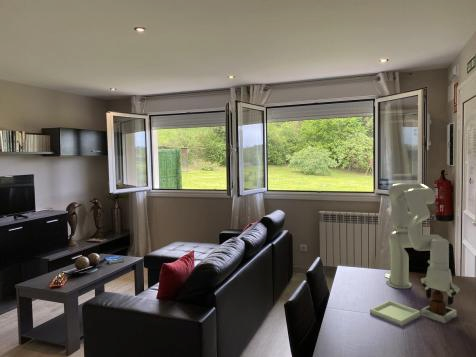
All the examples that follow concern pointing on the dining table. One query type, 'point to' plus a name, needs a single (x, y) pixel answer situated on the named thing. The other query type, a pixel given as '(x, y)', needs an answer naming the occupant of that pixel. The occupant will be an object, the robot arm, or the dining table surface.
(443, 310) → the brown lumpy elongated piece
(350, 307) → the dining table surface
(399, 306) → the sage tray
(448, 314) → the white square bin
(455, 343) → the dining table surface
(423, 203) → the robot arm
